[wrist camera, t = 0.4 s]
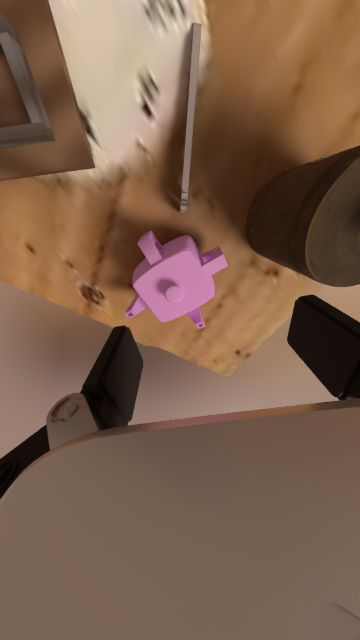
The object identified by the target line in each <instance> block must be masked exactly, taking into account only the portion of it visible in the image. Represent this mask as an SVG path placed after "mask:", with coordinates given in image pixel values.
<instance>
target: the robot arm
mask: <svg viewBox="0 0 360 640" xmlns="http://www.w3.org/2000/svg"><path fill="white" fill-rule="evenodd" d="M287 341H288V344H289V345H290V346H291V347H292V349H293V350H294V351H295V352H296V353H297V354H298V356H299V357H300V358H301V359H302V360H303V361H304V363H305V364H306V365H307V366H308V367H309V369H310V370H311V371H312V372H313V373H314V374H315V375H316V377H317V378H318V379H319V380H320V381H321V383H322V384H323V385H324V386H325V387H326V388H327V390H328V391H329V392H330V393H331V394H332V395H333V396H334V397H337V398H338V399H339V400H340V401H332V402H322V403H314V404H304V405H295V406H286V407H277V408H269V409H260V410H251V411H243V412H234V413H225V414H217V415H209V416H200V417H192V418H184V419H175V420H167V421H159V422H151V423H145V424H137V425H130V426H127V425H128V422H129V421H131V419H132V415H133V410H134V405H135V401H136V396H137V391H138V387H139V382H140V378H141V373H142V368H143V360H142V357H141V355H140V352H139V350H138V348H137V345H136V343H135V340H134V338H133V336H132V333H131V331H130V329H129V328H128V327H127V328H126V326H118V327H114V328H113V330H112V332H111V334H110V336H109V338H108V340H107V341H106V343H105V345H104V347H103V349H102V351H101V353H100V355H99V356H98V358H97V360H96V362H95V364H94V366H93V368H92V370H91V371H90V373H89V375H88V377H87V379H86V381H85V383H84V385H83V386H82V387H83V389H82V390H81V392H80V393H72V394H69V395H67V396H65V397H63V398H62V399H61V400H59V401H58V402H57V403H56V404H55V405H54V406H53V407H52V409H51V410H50V411H49V413H48V416H47V419H46V425H45V426H44V427H42V428H41V429H40V430H38V431H37V432H36V433H34V434H33V435H32V436H30V437H29V438H28V439H26V440H25V441H24V442H22V443H21V444H20V445H18V446H17V447H16V448H14V449H13V450H12V451H10V452H9V453H8V454H6V455H5V456H4V457H2V458H1V459H0V640H360V322H358V321H356V320H355V319H353V318H351V317H350V316H348V315H346V314H345V313H343V312H341V311H340V310H338V309H336V308H335V307H333V306H331V305H330V304H328V303H326V302H325V301H323V300H322V299H320V298H318V297H317V296H315V295H307V296H301V297H299V298H298V300H296V301H295V305H294V309H293V314H292V319H291V323H290V328H289V333H288V338H287Z"/></svg>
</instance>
